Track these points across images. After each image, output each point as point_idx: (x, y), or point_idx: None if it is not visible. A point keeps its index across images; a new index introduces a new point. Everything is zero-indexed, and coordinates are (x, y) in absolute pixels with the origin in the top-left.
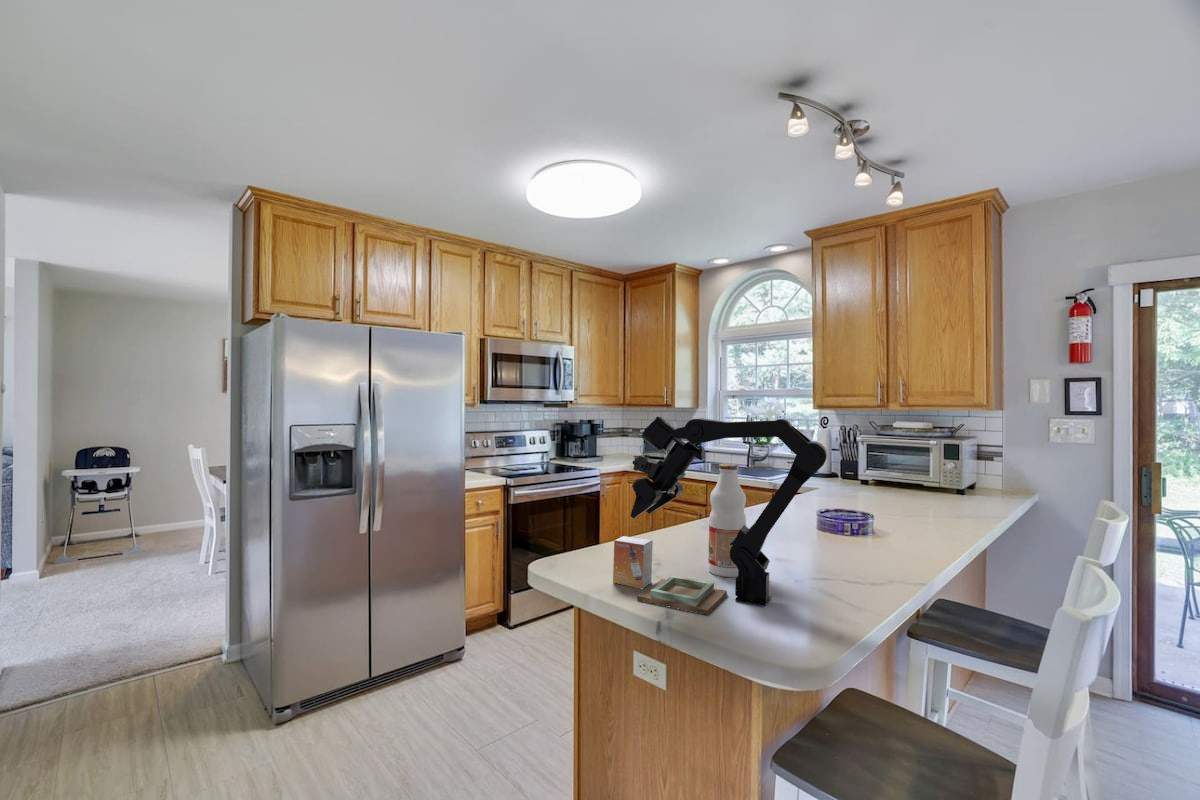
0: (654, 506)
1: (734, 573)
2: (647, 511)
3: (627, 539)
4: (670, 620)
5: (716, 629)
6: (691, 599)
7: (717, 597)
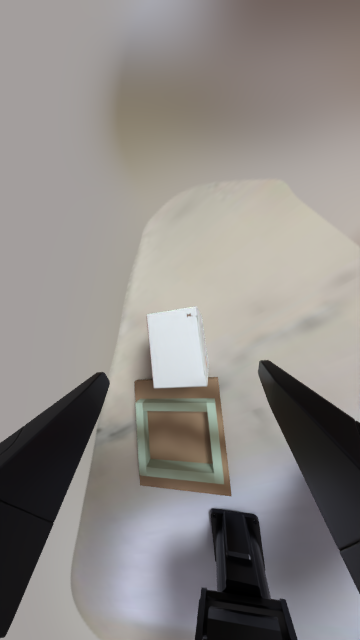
0: (285, 422)
1: None
2: (261, 368)
3: (168, 334)
4: (107, 440)
5: (112, 499)
6: (139, 466)
7: (193, 487)
